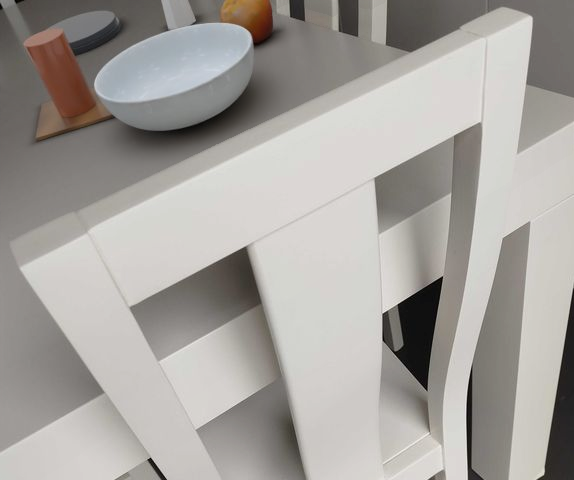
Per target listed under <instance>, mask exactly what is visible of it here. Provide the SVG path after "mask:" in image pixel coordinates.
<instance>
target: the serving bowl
mask: <svg viewBox="0 0 574 480" xmlns="http://www.w3.org/2000/svg"><path fill="white" fill-rule="evenodd" d="M254 65H255V48H254V43H253V39H252V36H251V34H250V32H249V31H248V30H246V29H245V28H243V27H241V26H239V25H235V24H229V23H221V22H207V23H197V24H192V25H190V26H186V27H182V28H178V29H174V30H168V31H164V32H161V33H158V34H156V35H153V36H150V37H148V38H145V39H144V40H142V41H139V42H137V43H134V44H132V45H131V46H129V47H128V48H126V49H125V50H123V51H121V52H120V53H119V54H117V55H116V56H114V57H113V58H112V59H111V60H109V61H108V62H107V63H106V64H104V66H102V68H101V69H100V70H99V72H98V73H97V75H96V77H95V79H94V83H93V88H94V89H95V92H96V94H97V95H98V97H99V98H100V100H101V101H102V103H103V104H104V106H105V107H106V108H107V109H108V110H109V111H110V113H111V114H113V115H114V116H115V117H114V118H116V119H117V120H119V121H120V122H122V123H124V124H126V125H128V126H130V127H132V128H136V129H139V130H145V131H150V132H151V131H154V132H160V131H161V132H163V131H174V130H178V129H183V128H187V127H192V126H194V125H197V124H200V123H202V122H205V121H207V120H209V119H211V118H213V117H215V116H217V115H219V114H220V113H222V112H223V111H225V110H226V109H227V108H229V107H230V106H231V105H232V104H234V103H235V102H236V101H237V100H238V99H239V98H240V97H241V95H242V94H243V92H244V91H245V90H246V88H247V86H248V84H249V82H250V81H251V77H252V75H253V71H254Z"/></svg>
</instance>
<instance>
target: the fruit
mask: <svg viewBox="0 0 574 480" xmlns="http://www.w3.org/2000/svg"><path fill="white" fill-rule="evenodd" d="M219 14H220V15H219V16H220V23H229V24H235V25H239V26H241V27H243V28H245V29H246V30H248V31H249V32H250V34H251V36H252V39H253V44H260V43H261V42H263V41H265V40H266V39H267V38H269V37H270V36H271V34H272V33H273V32H274V17H273V6H272V4H271V1H270V0H224V2H223V4H222V6H221V9H220V11H219Z"/></svg>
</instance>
